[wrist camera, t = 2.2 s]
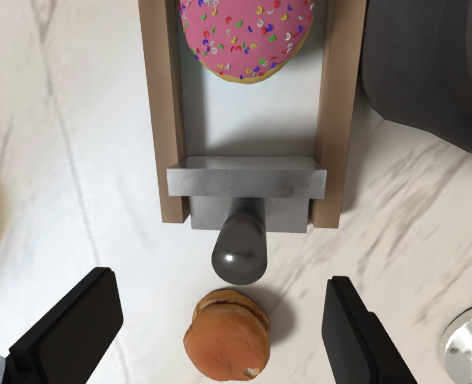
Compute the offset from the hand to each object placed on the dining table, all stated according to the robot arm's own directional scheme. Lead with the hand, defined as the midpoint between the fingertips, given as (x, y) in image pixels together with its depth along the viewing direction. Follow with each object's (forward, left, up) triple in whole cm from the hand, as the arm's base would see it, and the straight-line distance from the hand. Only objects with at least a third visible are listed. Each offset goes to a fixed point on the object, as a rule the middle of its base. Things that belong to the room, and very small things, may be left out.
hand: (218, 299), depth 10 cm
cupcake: (-1, -14, -14) cm, 20 cm away
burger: (+1, +16, -14) cm, 21 cm away
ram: (-1, -1, -14) cm, 14 cm away
